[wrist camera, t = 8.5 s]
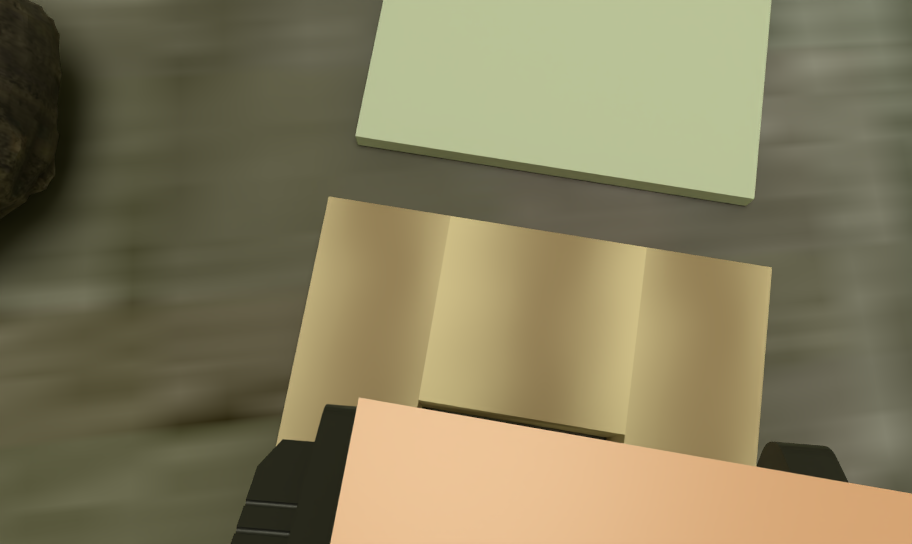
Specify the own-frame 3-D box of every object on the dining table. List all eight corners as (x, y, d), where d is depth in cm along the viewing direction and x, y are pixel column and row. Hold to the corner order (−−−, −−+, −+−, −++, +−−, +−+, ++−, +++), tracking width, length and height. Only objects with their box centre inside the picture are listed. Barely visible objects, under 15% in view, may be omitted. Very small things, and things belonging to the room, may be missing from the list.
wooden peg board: (225, 787, 24) (194, 832, 22) (341, 223, 29) (329, 196, 26) (686, 874, 24) (719, 930, 21) (738, 287, 28) (771, 267, 25)
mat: (357, 144, 29) (355, 136, 28) (416, -138, 32) (415, -153, 31) (745, 205, 29) (754, 198, 28) (771, -86, 31) (779, -100, 31)
